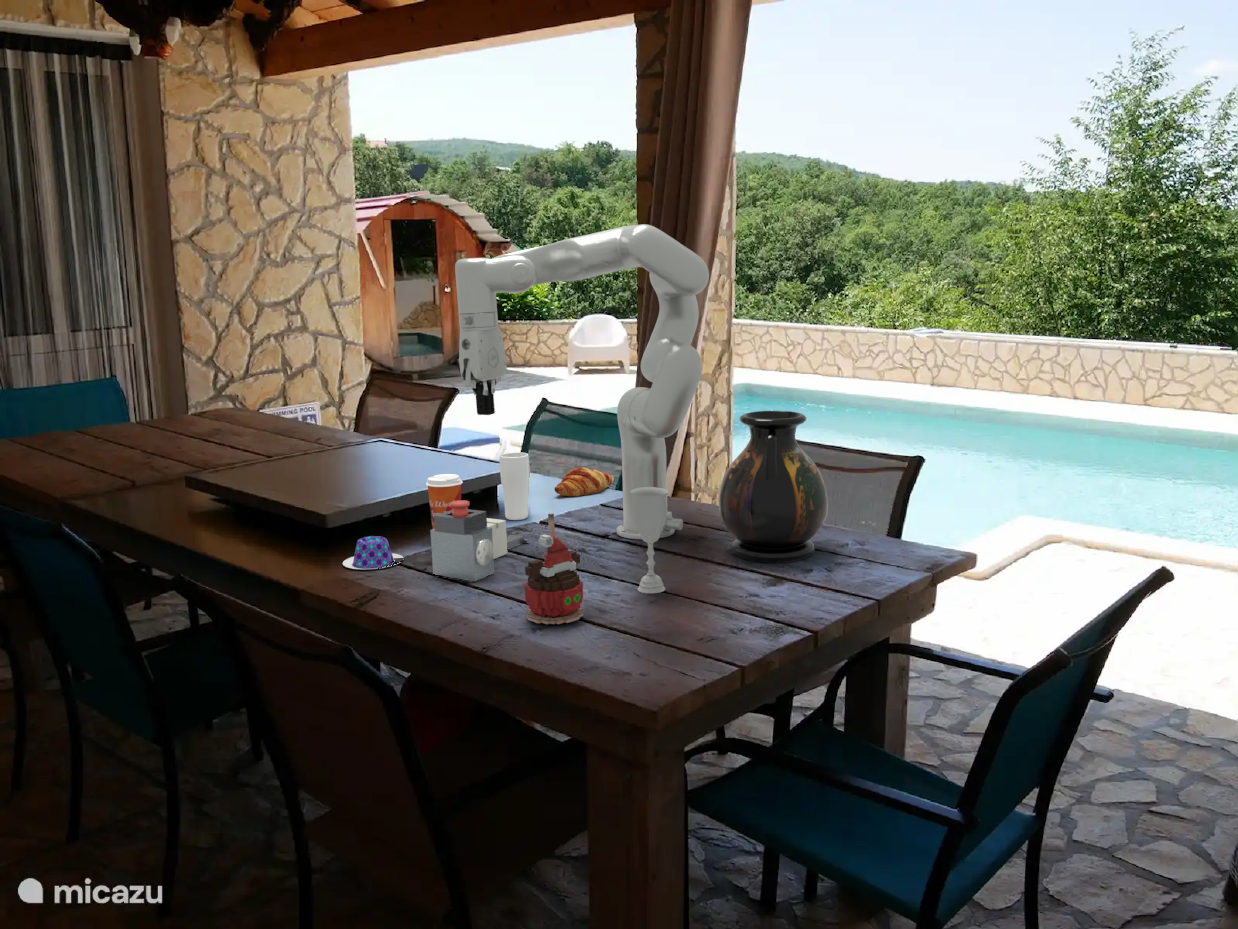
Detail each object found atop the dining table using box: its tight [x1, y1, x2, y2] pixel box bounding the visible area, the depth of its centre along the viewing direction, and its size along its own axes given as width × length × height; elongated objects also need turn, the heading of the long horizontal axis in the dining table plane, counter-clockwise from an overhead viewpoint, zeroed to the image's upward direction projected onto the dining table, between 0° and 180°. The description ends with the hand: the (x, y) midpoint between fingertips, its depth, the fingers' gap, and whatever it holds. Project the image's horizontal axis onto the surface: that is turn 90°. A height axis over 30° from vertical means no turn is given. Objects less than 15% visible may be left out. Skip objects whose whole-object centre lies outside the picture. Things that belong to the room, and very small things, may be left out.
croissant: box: [554, 466, 615, 497], centre depth 277 cm, size 21×10×8 cm, turn 140°
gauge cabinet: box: [429, 508, 495, 582], centre depth 205 cm, size 10×7×12 cm
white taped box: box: [487, 517, 508, 560], centre depth 218 cm, size 6×6×7 cm
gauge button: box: [450, 499, 470, 517], centre depth 204 cm, size 4×4×5 cm
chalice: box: [630, 487, 669, 594], centre depth 192 cm, size 7×7×18 cm
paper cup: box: [425, 473, 464, 529], centre depth 231 cm, size 8×8×14 cm
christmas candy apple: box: [524, 512, 584, 625], centre depth 178 cm, size 11×9×18 cm
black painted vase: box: [718, 410, 829, 564], centre depth 212 cm, size 22×22×28 cm
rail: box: [507, 534, 531, 549], centre depth 222 cm, size 5×16×2 cm, turn 150°
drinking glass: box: [499, 451, 530, 521], centre depth 249 cm, size 7×7×15 cm
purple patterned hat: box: [342, 535, 404, 570], centre depth 216 cm, size 12×12×5 cm
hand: (486, 414), depth 215 cm, fingers closed
